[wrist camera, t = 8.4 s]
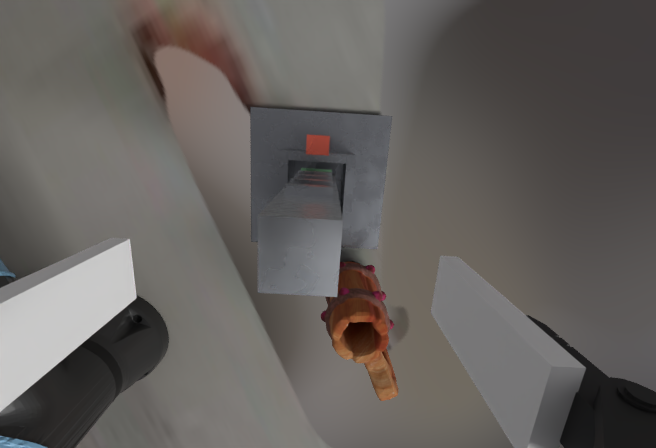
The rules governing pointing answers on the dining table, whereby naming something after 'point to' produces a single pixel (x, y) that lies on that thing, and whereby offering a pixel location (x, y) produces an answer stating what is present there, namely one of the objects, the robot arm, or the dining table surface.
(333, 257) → the column
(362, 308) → the mug
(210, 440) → the dining table surface
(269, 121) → the stand base
